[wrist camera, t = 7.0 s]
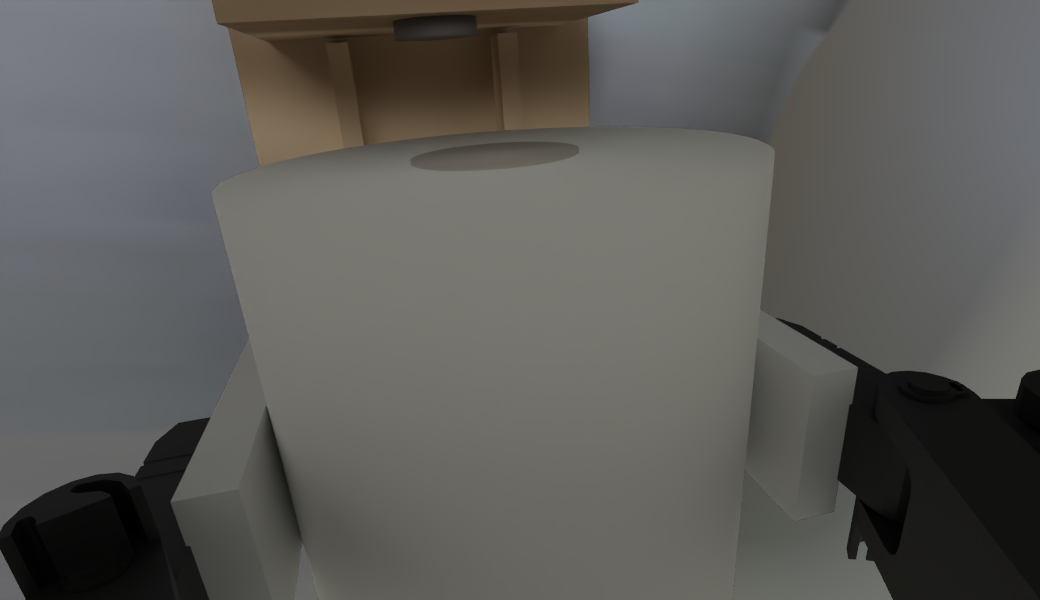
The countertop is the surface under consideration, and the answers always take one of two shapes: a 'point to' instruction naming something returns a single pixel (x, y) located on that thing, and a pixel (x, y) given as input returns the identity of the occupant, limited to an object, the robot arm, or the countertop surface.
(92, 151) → the countertop surface
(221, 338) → the countertop surface
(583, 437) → the roll
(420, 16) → the holder
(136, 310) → the countertop surface
